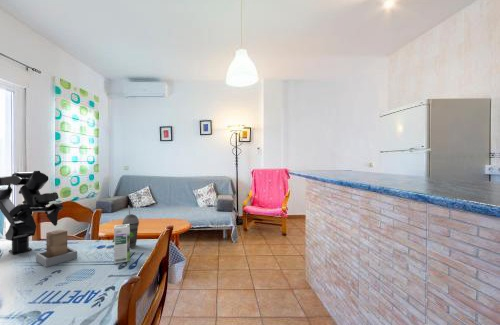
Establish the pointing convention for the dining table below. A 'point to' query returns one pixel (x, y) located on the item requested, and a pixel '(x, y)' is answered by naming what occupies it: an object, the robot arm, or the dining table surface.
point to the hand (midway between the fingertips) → (45, 226)
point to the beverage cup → (132, 227)
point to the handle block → (56, 243)
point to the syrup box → (121, 243)
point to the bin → (56, 257)
